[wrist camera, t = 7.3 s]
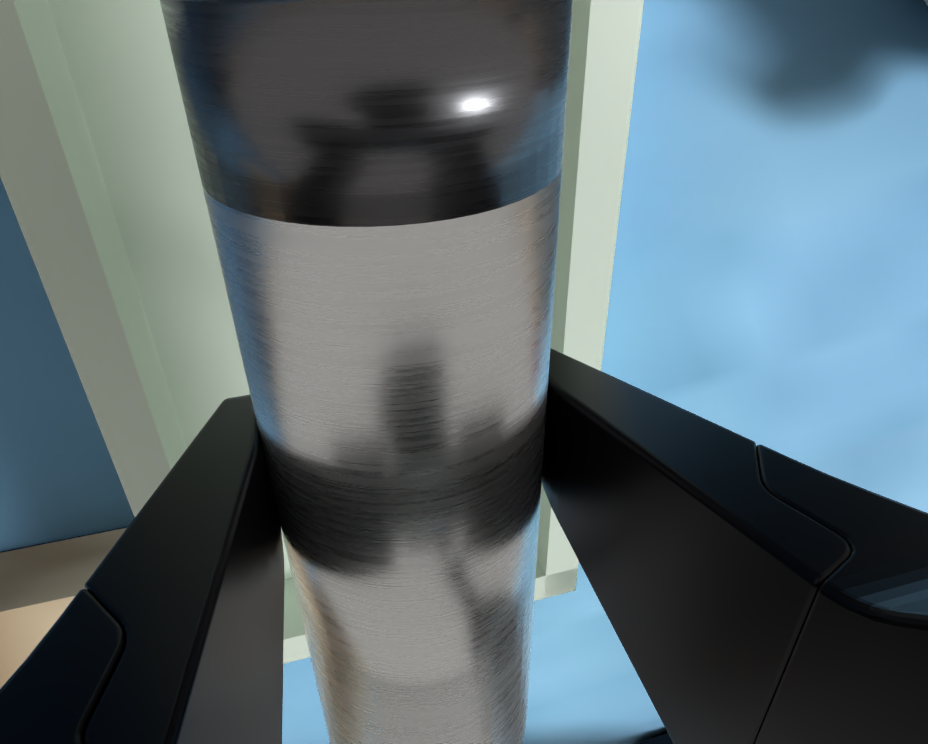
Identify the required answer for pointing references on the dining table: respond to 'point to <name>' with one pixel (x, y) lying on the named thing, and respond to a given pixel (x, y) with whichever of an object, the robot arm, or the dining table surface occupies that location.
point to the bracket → (42, 590)
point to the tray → (191, 236)
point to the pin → (393, 327)
